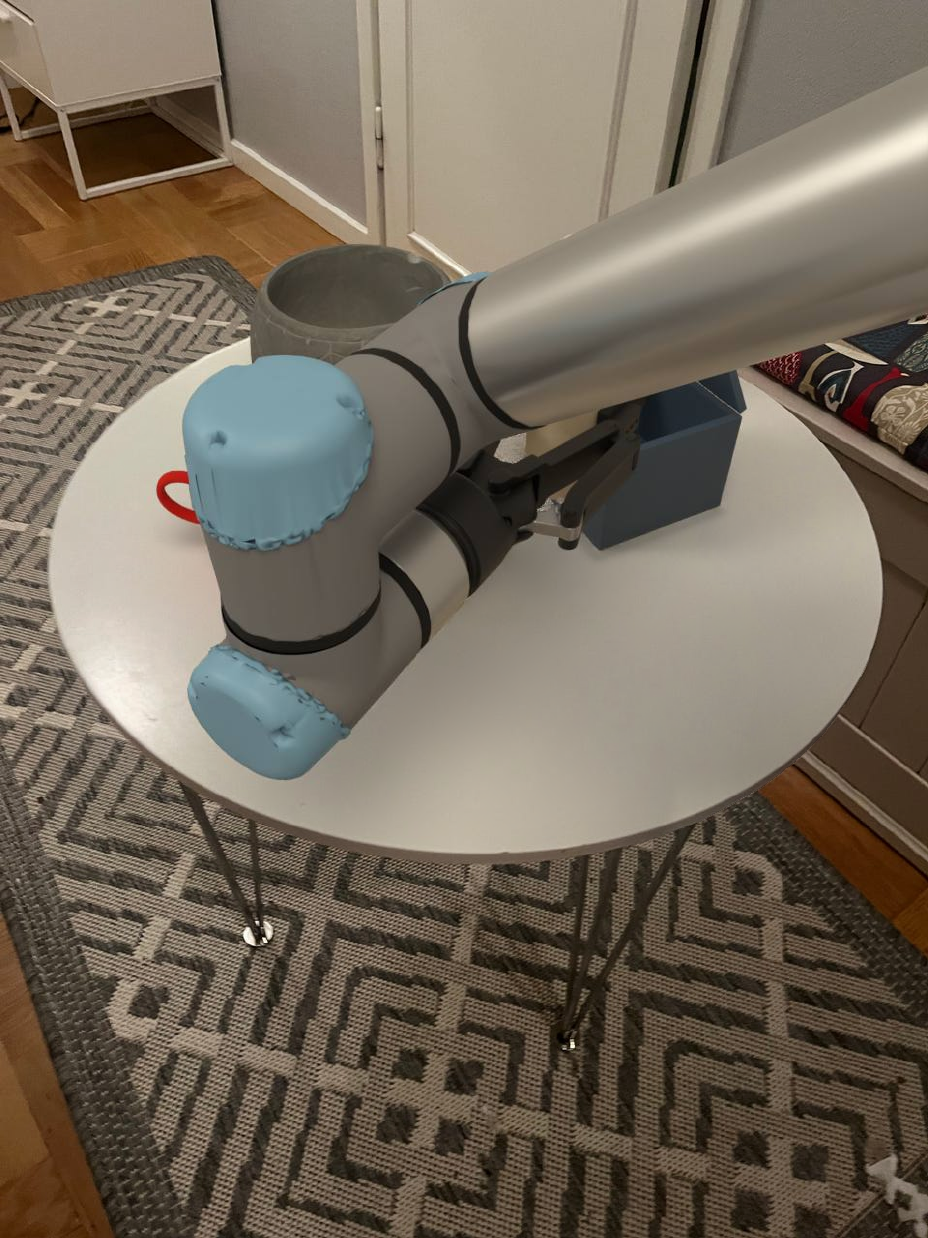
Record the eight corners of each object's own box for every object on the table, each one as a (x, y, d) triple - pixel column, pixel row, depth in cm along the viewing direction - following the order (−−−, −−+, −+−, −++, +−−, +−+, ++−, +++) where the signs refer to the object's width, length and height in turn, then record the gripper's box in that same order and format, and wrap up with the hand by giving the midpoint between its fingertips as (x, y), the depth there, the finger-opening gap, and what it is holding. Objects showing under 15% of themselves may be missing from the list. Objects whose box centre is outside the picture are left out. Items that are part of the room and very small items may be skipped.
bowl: (220, 436, 97) (191, 296, 86) (349, 348, 109) (338, 216, 98) (387, 510, 88) (378, 366, 78) (506, 406, 101) (512, 269, 90)
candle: (513, 491, 68) (520, 367, 61) (537, 449, 72) (545, 327, 65) (587, 509, 67) (603, 384, 60) (607, 465, 70) (625, 342, 63)
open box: (599, 550, 85) (612, 460, 78) (526, 474, 92) (532, 386, 85) (720, 505, 89) (742, 416, 82) (640, 436, 97) (655, 349, 90)
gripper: (300, 546, 60) (490, 381, 74) (557, 664, 54) (714, 458, 67) (285, 448, 55) (493, 290, 69) (569, 566, 48) (737, 363, 62)
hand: (602, 373), depth 68 cm, fingers closed on candle, 6 cm apart
